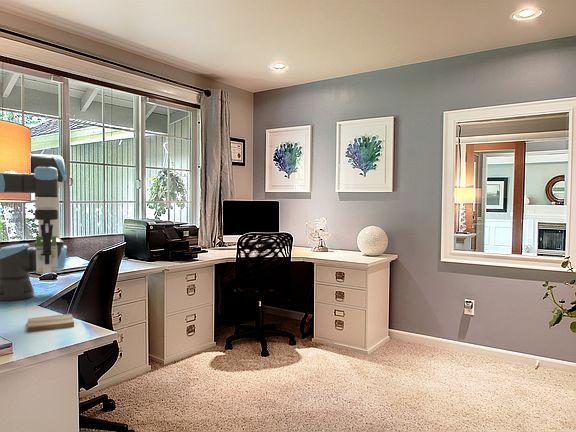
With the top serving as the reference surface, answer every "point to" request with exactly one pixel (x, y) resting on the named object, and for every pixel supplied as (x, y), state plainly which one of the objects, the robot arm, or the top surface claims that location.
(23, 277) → the robot arm
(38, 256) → the ink box
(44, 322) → the board
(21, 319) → the top surface
